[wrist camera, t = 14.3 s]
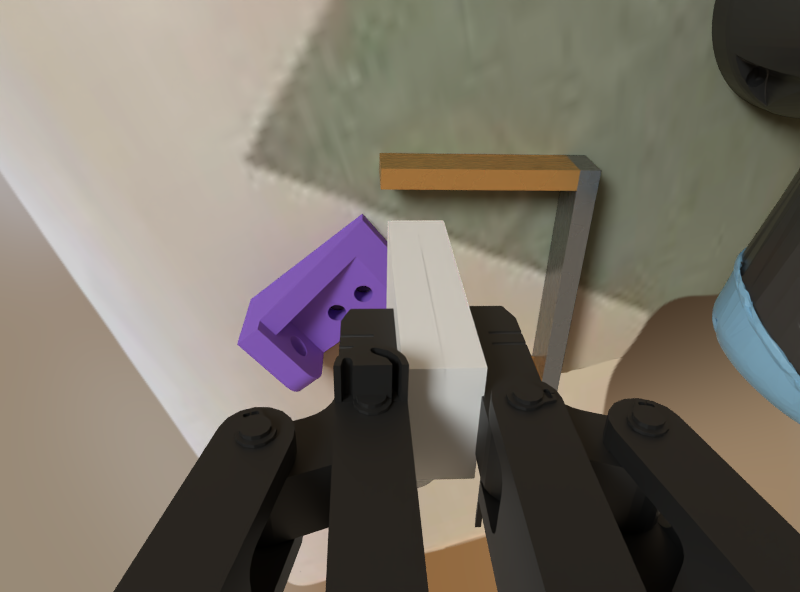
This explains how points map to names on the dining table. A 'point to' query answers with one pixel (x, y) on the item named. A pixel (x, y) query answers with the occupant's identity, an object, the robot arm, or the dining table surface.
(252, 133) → the dining table surface
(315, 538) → the dining table surface
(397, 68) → the dining table surface
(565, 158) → the u-shaped frame
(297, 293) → the bracket
